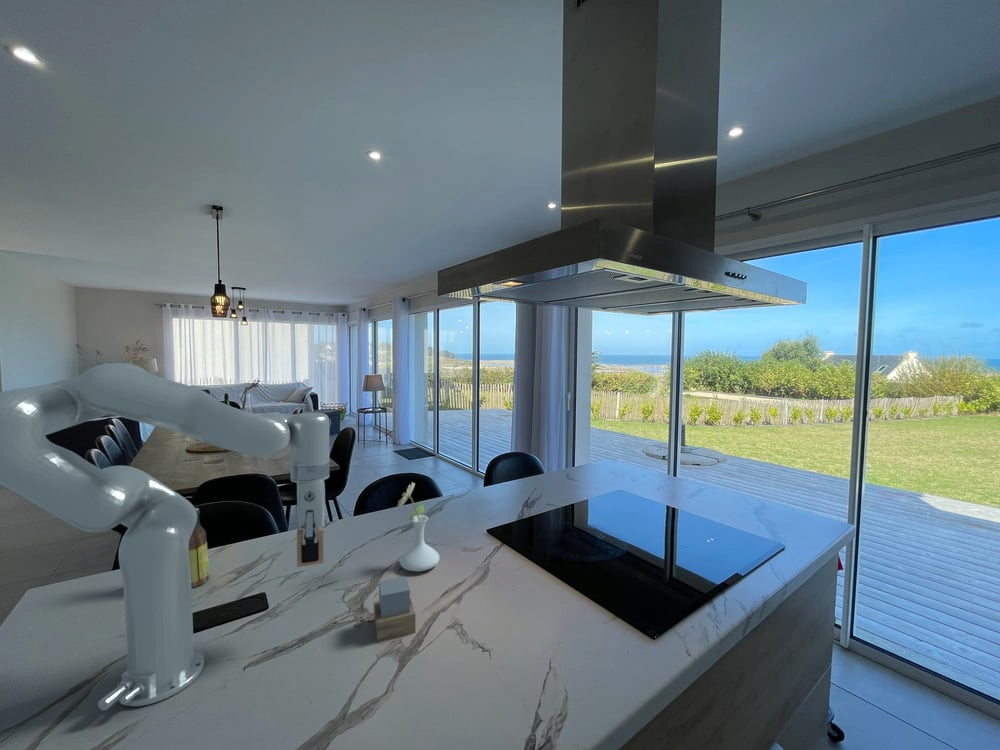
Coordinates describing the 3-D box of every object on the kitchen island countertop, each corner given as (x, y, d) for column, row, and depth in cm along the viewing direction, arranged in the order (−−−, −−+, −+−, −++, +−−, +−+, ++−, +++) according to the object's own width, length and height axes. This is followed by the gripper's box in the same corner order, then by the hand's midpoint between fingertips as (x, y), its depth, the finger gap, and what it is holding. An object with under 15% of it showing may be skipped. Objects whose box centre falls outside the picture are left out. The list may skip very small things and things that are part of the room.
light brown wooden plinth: (415, 634, 90) (415, 614, 90) (377, 643, 87) (377, 622, 87) (409, 613, 98) (409, 594, 97) (374, 621, 95) (373, 601, 94)
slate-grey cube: (409, 612, 91) (409, 590, 90) (381, 618, 88) (381, 595, 88) (406, 597, 96) (405, 576, 96) (379, 602, 94) (379, 581, 94)
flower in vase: (418, 552, 127) (417, 472, 126) (447, 561, 121) (447, 477, 120) (386, 571, 116) (385, 483, 115) (417, 582, 110) (416, 490, 109)
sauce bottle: (205, 574, 114) (203, 503, 113) (212, 582, 110) (210, 508, 109) (175, 584, 109) (173, 510, 108) (182, 593, 105) (179, 516, 104)
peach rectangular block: (323, 562, 87) (323, 530, 87) (297, 567, 85) (296, 533, 85) (323, 552, 92) (323, 521, 91) (298, 556, 90) (298, 524, 89)
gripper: (329, 480, 81) (329, 571, 82) (329, 460, 97) (329, 536, 98) (287, 484, 78) (287, 578, 79) (293, 463, 94) (293, 541, 95)
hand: (310, 554), depth 88 cm, fingers closed on peach rectangular block, 4 cm apart
